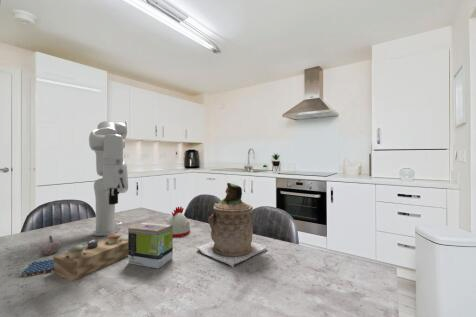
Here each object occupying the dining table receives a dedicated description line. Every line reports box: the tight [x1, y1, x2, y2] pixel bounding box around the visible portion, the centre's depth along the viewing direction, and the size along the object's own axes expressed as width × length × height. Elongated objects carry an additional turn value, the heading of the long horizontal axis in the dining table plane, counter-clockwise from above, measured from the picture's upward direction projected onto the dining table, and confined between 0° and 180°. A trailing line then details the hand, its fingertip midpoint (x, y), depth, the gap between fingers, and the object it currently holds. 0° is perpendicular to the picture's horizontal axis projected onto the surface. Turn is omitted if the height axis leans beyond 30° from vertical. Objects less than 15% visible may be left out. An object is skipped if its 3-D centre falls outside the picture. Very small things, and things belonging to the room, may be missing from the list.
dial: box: [86, 239, 99, 249], centre depth 91 cm, size 4×4×3 cm
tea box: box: [127, 221, 174, 269], centre depth 92 cm, size 15×10×15 cm
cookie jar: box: [195, 182, 268, 268], centre depth 102 cm, size 25×25×32 cm
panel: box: [53, 237, 128, 281], centre depth 90 cm, size 24×12×6 cm, turn 154°
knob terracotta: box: [106, 232, 121, 245], centre depth 97 cm, size 5×5×8 cm
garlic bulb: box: [40, 235, 61, 256], centre depth 100 cm, size 8×7×8 cm
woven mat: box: [19, 258, 54, 278], centre depth 86 cm, size 10×11×2 cm
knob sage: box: [67, 244, 85, 260], centre depth 84 cm, size 5×5×8 cm
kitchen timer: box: [166, 206, 191, 238], centre depth 127 cm, size 14×14×15 cm
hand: (113, 203), depth 97 cm, fingers closed
